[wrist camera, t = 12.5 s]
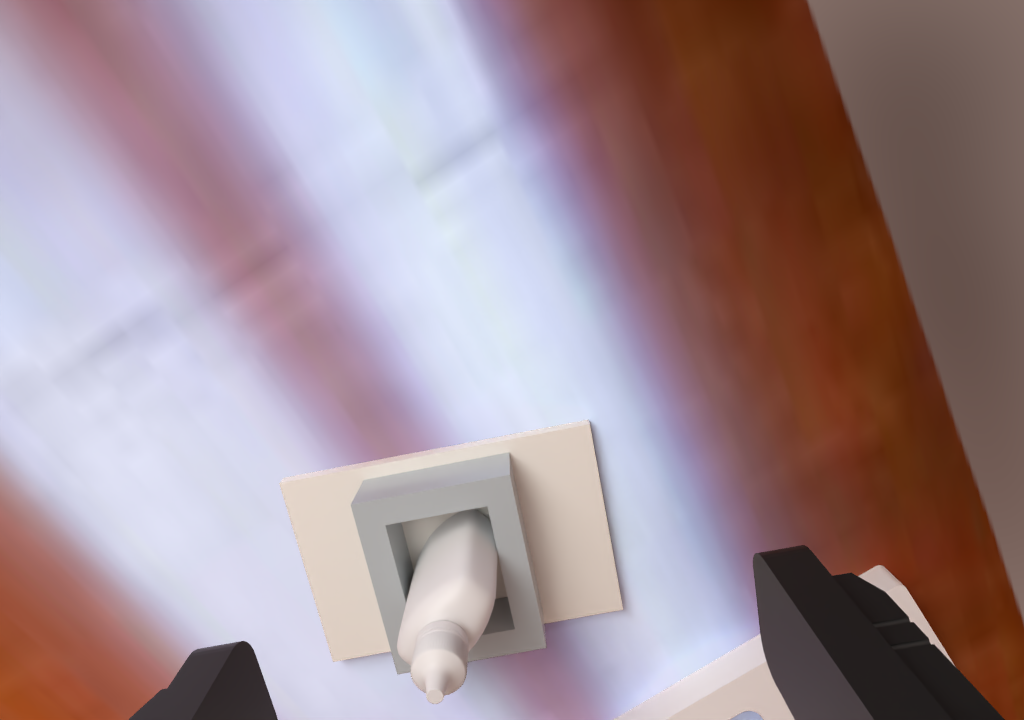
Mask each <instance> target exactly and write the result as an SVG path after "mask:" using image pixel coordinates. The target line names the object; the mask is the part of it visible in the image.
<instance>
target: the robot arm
mask: <svg viewBox="0 0 1024 720" xmlns="http://www.w3.org/2000/svg"><path fill="white" fill-rule="evenodd" d="M753 569H754V578H755V588H756V597H757V606H758V615H759V625H760V634H761V641H762V646H763V651H764V654H765V658H766V661H767V664H768V667H769V670H770V673H771V675H772V678H773V680H774V682H775V684H776V686H777V688H778V689H779V691H780V693H781V695H782V697H783V699H784V701H785V702H786V704H787V706H788V708H789V710H790V712H791V713H792V715H793V717H794V719H795V720H1005V719H1004V718H1003V717H1002V716H1001V715H1000V714H999V713H998V712H997V711H996V710H995V709H994V708H993V707H992V706H991V704H990V703H989V702H988V701H987V700H986V699H985V698H984V697H983V696H982V695H981V694H980V693H979V692H978V691H977V689H976V688H975V687H974V686H973V685H972V684H971V683H970V682H969V681H968V680H967V679H966V678H965V677H964V676H963V674H962V673H961V672H960V671H959V670H958V669H957V668H956V667H955V666H954V665H953V664H952V663H951V662H950V661H949V659H948V658H947V657H946V656H945V655H944V654H943V653H942V652H941V651H940V650H939V649H938V648H937V647H936V646H935V644H931V643H930V641H929V638H928V637H927V636H926V635H925V634H924V633H923V632H922V631H921V629H920V628H919V627H918V626H917V625H916V624H915V623H914V622H910V620H909V617H908V616H907V614H906V613H905V612H904V611H903V610H902V609H901V608H900V607H899V606H898V605H897V604H896V603H895V602H894V601H893V599H892V598H891V597H890V596H889V595H888V594H887V593H886V592H885V591H883V590H881V589H880V588H878V587H876V586H874V585H872V584H871V583H869V582H867V581H865V580H863V579H862V578H860V577H858V576H856V575H854V574H853V573H847V574H841V575H835V576H832V575H831V574H830V573H829V572H828V570H827V569H826V568H825V567H824V566H823V564H822V563H821V562H820V561H819V560H818V558H817V557H816V556H815V555H814V554H813V552H812V551H811V550H810V549H809V548H808V547H807V546H804V545H801V546H796V547H790V548H784V549H778V550H773V551H767V552H761V553H756V554H755V555H754V558H753ZM129 720H278V719H277V715H276V713H275V710H274V707H273V704H272V701H271V698H270V695H269V692H268V690H267V687H266V684H265V681H264V678H263V675H262V672H261V669H260V667H259V664H258V661H257V658H256V655H255V653H254V650H253V648H252V647H251V645H250V644H249V643H247V642H245V641H241V642H235V643H230V644H224V645H218V646H213V647H207V648H201V649H197V650H195V651H193V652H192V653H191V654H190V656H189V657H188V658H187V660H186V661H185V663H184V664H183V666H182V667H181V669H180V670H179V672H178V673H177V675H176V676H175V678H174V679H173V681H172V682H171V684H170V685H169V687H168V688H167V689H162V690H160V691H159V692H158V693H157V694H156V695H155V696H154V697H153V698H152V699H151V700H150V701H148V702H147V703H146V704H145V705H144V706H143V707H142V708H141V709H140V710H139V711H137V712H136V713H135V714H134V715H133V716H132V717H131V718H130V719H129Z"/></svg>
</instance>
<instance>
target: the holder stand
mask: <svg viewBox="0 0 1024 720" xmlns="http://www.w3.org/2000/svg"><path fill="white" fill-rule="evenodd" d="M279 484H280V487H281V490H282V494H283V497H284V500H285V504H286V507H287V510H288V514H289V517H290V520H291V524H292V527H293V530H294V534H295V537H296V540H297V543H298V547H299V550H300V553H301V557H302V560H303V563H304V567H305V570H306V573H307V577H308V580H309V583H310V587H311V590H312V593H313V597H314V600H315V603H316V606H317V610H318V613H319V616H320V620H321V623H322V626H323V630H324V633H325V636H326V640H327V643H328V646H329V650H330V653H331V656H332V659H333V662H335V661H341V660H347V659H352V658H358V657H363V656H369V655H374V654H380V653H385V652H391V653H392V656H393V660H394V664H395V667H396V671H397V674H403V673H409V672H410V670H411V669H410V668H411V665H409V664H408V663H406V662H405V661H404V660H403V659H402V658H401V657H400V655H399V654H398V650H397V641H398V636H399V631H400V627H401V622H402V618H403V614H404V610H405V606H406V602H407V598H408V594H409V590H410V586H411V582H412V578H413V574H414V570H415V566H416V563H417V560H418V557H419V555H420V552H421V550H422V548H423V546H424V545H425V543H426V541H427V540H428V538H429V537H430V536H431V534H432V533H433V532H434V531H435V530H436V529H437V528H438V527H439V526H440V525H441V524H442V523H443V522H445V521H446V520H447V519H449V518H450V517H452V516H453V515H455V514H457V513H458V512H460V511H465V510H470V509H475V510H477V511H478V512H480V513H481V514H483V515H484V516H485V517H487V518H488V519H490V520H491V525H492V529H493V534H494V538H495V543H496V547H497V581H496V597H495V602H494V607H493V610H492V613H491V616H490V619H489V621H488V624H487V626H486V628H485V630H484V632H483V633H482V635H481V637H480V638H479V640H478V641H477V642H476V644H475V645H474V646H473V647H472V649H471V650H470V651H469V652H468V662H470V661H476V660H481V659H487V658H492V657H498V656H504V655H509V654H515V653H520V652H526V651H532V650H537V649H543V648H547V645H546V635H545V624H546V623H552V622H557V621H563V620H569V619H574V618H580V617H585V616H591V615H596V614H602V613H607V612H613V611H618V610H623V606H622V600H621V595H620V589H619V584H618V578H617V572H616V567H615V561H614V556H613V550H612V545H611V539H610V534H609V528H608V522H607V517H606V511H605V506H604V500H603V495H602V489H601V483H600V478H599V472H598V467H597V461H596V456H595V450H594V445H593V439H592V433H591V428H590V423H589V421H588V420H583V421H578V422H573V423H568V424H562V425H557V426H552V427H547V428H541V429H536V430H531V431H526V432H520V433H515V434H510V435H505V436H500V437H494V438H489V439H484V440H479V441H473V442H468V443H463V444H458V445H452V446H447V447H442V448H437V449H431V450H426V451H421V452H416V453H411V454H405V455H400V456H395V457H390V458H384V459H379V460H374V461H369V462H363V463H358V464H353V465H348V466H342V467H337V468H332V469H327V470H322V471H316V472H311V473H306V474H301V475H295V476H290V477H285V478H283V479H282V481H281V482H280V483H279Z"/></svg>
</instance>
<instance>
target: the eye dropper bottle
mask: <svg viewBox="0 0 1024 720" xmlns="http://www.w3.org/2000/svg"><path fill="white" fill-rule="evenodd" d="M496 581H497V547H496V543H495V538H494V534H493V529H492V525H491V520H490V519H488V518H487V517H485V516H484V515H483V514H481V513H480V512H478V511H477V510H475V509H470V510H465V511H460V512H458V513H457V514H455V515H453V516H452V517H450V518H449V519H447V520H446V521H445V522H443V523H442V524H441V525H440V526H439V527H438V528H437V529H436V530H435V531H434V532H433V533H432V534H431V536H430V537H429V538H428V540H427V541H426V543H425V545H424V546H423V548H422V550H421V552H420V555H419V557H418V560H417V563H416V566H415V570H414V574H413V578H412V582H411V586H410V590H409V594H408V598H407V602H406V606H405V610H404V614H403V618H402V622H401V627H400V631H399V636H398V641H397V650H398V654H399V655H400V657H401V658H402V659H403V660H404V661H405V662H406V663H408V664H409V665H411V668H410V669H411V670H410V672H411V677H412V680H413V682H414V684H415V685H416V686H417V687H418V688H419V689H420V690H421V691H423V692H424V693H426V697H427V700H428V701H429V702H430V703H432V704H438V703H440V702H441V701H442V700H443V698H444V695H448V694H451V693H453V692H455V691H456V690H457V689H459V687H461V685H463V683H464V680H465V678H466V675H467V663H468V652H469V651H470V650H471V649H472V647H473V646H474V645H475V644H476V642H477V641H478V640H479V638H480V637H481V635H482V633H483V632H484V630H485V628H486V626H487V624H488V621H489V619H490V616H491V613H492V610H493V607H494V602H495V597H496Z"/></svg>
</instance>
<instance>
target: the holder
mask: <svg viewBox="0 0 1024 720" xmlns="http://www.w3.org/2000/svg"><path fill="white" fill-rule="evenodd" d="M858 577H860V578H862V579H863V580H865V581H867V582H869V583H871V584H872V585H874V586H876V587H878V588H880V589H881V590H883V591H885V592H886V593H887V594H888V595H889V596H890V597H891V598H892V599H893V601H894V602H895V603H896V604H897V605H898V606H899V607H900V608H901V609H902V610H903V611H904V612H905V613H906V614H907V616H908V617H909V620H910V622H914V623H915V624H916V625H917V626H918V627H919V628H920V629H921V631H922V632H923V633H924V634H925V635H926V636H927V637H928V638H929V641H930V643H931V644H935V646H936V647H937V648H938V649H939V650H940V651H941V652H942V653H943V654H944V655H945V656H946V657H947V658H948V659H949V661H950V662H951V663H952V664H953V662H952V660H951V659H950V657H949V656H948V654H947V652H946V651H945V649H944V648H943V646H942V644H941V643H940V641H939V640H938V638H937V636H936V635H935V633H934V632H933V630H932V628H931V627H930V625H929V624H928V622H927V620H926V619H925V617H924V616H923V614H922V612H921V611H920V609H919V608H918V606H917V604H916V603H915V601H914V600H913V598H912V596H911V595H910V593H909V592H908V590H907V588H906V587H905V586H904V585H903V584H902V583H901V582H900V581H899V580H898V579H897V578H895V577H894V576H893V575H892V574H891V573H890V572H889V571H888V570H887V569H886V568H885V567H884V566H882V565H878V566H875V567H874V568H872V569H870V570H868V571H867V572H865V573H863V574H862V575H860V576H858ZM953 665H954V664H953ZM954 666H955V665H954ZM745 711H754V712H757V713H758V714H759V715H760V716H761V717H762V718H763V720H795V719H794V717H793V715H792V713H791V712H790V710H789V708H788V706H787V704H786V702H785V701H784V699H783V697H782V695H781V693H780V691H779V689H778V688H777V686H776V684H775V682H774V680H773V678H772V675H771V673H770V670H769V667H768V664H767V661H766V658H765V654H764V651H763V646H762V641H761V634H759V635H757V636H756V637H754V638H752V639H750V640H749V641H747V642H745V643H744V644H742V645H740V646H738V647H737V648H735V649H733V650H732V651H730V652H728V653H726V654H725V655H723V656H721V657H720V658H718V659H716V660H714V661H713V662H711V663H709V664H708V665H706V666H704V667H702V668H701V669H699V670H697V671H696V672H694V673H692V674H690V675H689V676H687V677H685V678H684V679H682V680H680V681H679V682H677V683H675V684H673V685H672V686H670V687H668V688H667V689H665V690H663V691H661V692H660V693H658V694H656V695H655V696H653V697H651V698H649V699H648V700H646V701H644V702H643V703H641V704H639V705H637V706H636V707H634V708H632V709H631V710H629V711H627V712H625V713H624V714H622V715H620V716H619V717H617V718H615V719H613V720H729V719H731V718H733V717H735V716H736V715H738V714H740V713H742V712H745Z"/></svg>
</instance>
